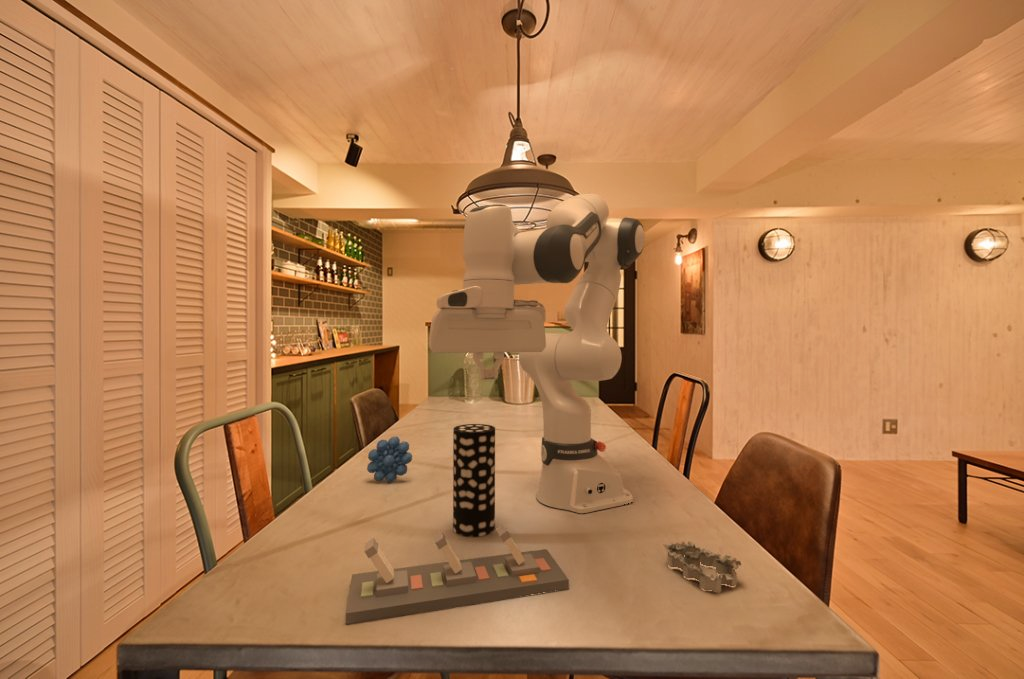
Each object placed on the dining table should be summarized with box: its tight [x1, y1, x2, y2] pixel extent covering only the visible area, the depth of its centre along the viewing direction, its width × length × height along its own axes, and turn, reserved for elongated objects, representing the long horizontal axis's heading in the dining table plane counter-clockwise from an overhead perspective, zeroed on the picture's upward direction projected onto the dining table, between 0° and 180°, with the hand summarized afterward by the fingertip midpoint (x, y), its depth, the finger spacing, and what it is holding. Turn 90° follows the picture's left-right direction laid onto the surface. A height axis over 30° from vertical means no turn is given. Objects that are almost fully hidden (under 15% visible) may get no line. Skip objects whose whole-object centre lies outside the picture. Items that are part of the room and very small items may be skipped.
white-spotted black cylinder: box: [452, 423, 496, 538], centre depth 90 cm, size 8×8×20 cm
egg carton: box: [662, 541, 742, 592], centre depth 73 cm, size 11×8×4 cm
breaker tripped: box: [495, 523, 525, 565], centre depth 71 cm, size 1×3×6 cm
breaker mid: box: [433, 530, 462, 574], centre depth 69 cm, size 1×3×6 cm, turn 15°
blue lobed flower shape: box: [366, 436, 413, 483], centre depth 118 cm, size 12×7×12 cm, turn 91°
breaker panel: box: [345, 548, 570, 625], centre depth 69 cm, size 32×10×2 cm, turn 105°
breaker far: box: [363, 537, 395, 583], centre depth 66 cm, size 1×3×6 cm, turn 15°
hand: (488, 379), depth 78 cm, fingers closed
